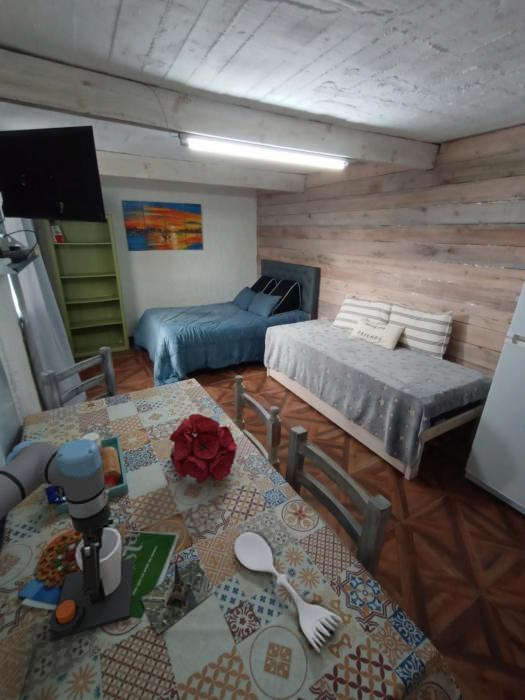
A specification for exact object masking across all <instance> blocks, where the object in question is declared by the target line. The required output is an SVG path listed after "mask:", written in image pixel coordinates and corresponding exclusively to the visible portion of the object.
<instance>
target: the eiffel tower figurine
mask: <svg viewBox="0 0 525 700" xmlns="http://www.w3.org/2000/svg"><path fill="white" fill-rule="evenodd" d="M173 564H174V574H173V575H170V577H168V578H167V579H165V580H164V581H162V582H161V583H159V584H158V585H157V586H155V587H154V588H152V589H151V590H150V591H149V592H146V594H144V595H143V596H142V597H140V601H141V603H142V605H143V607H144V609H145V611H146V613H147V615H148V618H149V620H150V621H151V623H152V626H153V627H154V629H155V631H156V633H157V635H160V634H161V633H163V632H164V631H166V630H167V629H169V627H171V626H172V625H174V624H175V623H176V622H177V621H179V620H180V619H181V618H182V617H183V616H184V615H186V614H187V613H189V612H190V611H191V610H192V609H193V608H194V607H196V606H197V605H199V604H200V603H202V602H203V601H204V600H205V599H207V598H209V596H212V594H214V593H215V592H217V589H216V588H215V585H214V584H212V582H211V580H210V579H209V577H208V576H207V575H206V573H205V572H204V570H203V569H202V568H201V566H200V565H199V563H198V562H197V560H196V559H194V560H192V561H191V562H189V563H188V564H186V565H185V566H184V567H182V568H181V569H180V570H179V566H178V560H177V558H175V560H174V563H173Z"/></svg>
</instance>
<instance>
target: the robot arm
mask: <svg viewBox="0 0 525 700" xmlns="http://www.w3.org/2000/svg"><path fill="white" fill-rule="evenodd" d="M102 459H103V458H102V455H101V454H100V450H99V446H98V444H97V443H96V442H95V441H94V440H92V439H89V438H83V439H73V440H71V441H68V442H67V443H65V444H63V445H62V446H60V445H56V444H53V443H49V442H45V441H34V440H25V441H23V442H19V444H16V445H15V446H14V447H13V448H12V451H11V452H10V453H8V454H7V457H6V459H5V465H4V466H3V467H1V468H0V520H2V519H3V518H4V517H5V516H7V514H9V513H10V512H11V511H12V510H13V509H15V508H16V507H17V506H18V505H19V504H21V503H22V502H23V501H24V500H25V499H27V498H29V496H31V495H32V494H33V493H34V492H35V491H37V490H38V489H39V488H40V487H41V486H42V485H44V484H46V485H52V486H56V487H57V486H58V487H61V488H63V492H64V497H65V500H66V505H67V509H68V513H69V516H70V520H71V524H72V528H73V529H74V530H75V531H77V532H79V533H81V534H82V539H83V540H84V547H81V550H80V552H81V556H82V567H83V588H82V590H84V596H86V595H90V599H91V603H92V605H94V604H97V603H101V602H105V601H106V596H105V591H104V587H103V582H102V578H101V579H100V549H101V548H102V535H103V528H108V527H110V528H112V527H111V525H113V524H114V519H113V518H111V516H112V514H111V505H110V502H109V501H110V500H109V499H108V497H109V496H108V495H109V494H110V489H109V488H108V489H107V487H106V480H105V476H104V475H105V474H104V471H103V470H104V469H103V460H102ZM110 518H111V519H110ZM98 542H99V545H98V546H95V544H96V543H98ZM92 544H93V545H92Z"/></svg>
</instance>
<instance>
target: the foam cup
mask: <svg viewBox="0 0 525 700" xmlns="http://www.w3.org/2000/svg"><path fill="white" fill-rule="evenodd" d="M110 527H111V526H110ZM110 527H108V528H103V535H102V548H101V549H100V579H101V578H102V582H103V587H104V591H105V596H106V595H108V594H110V593H112V592H113V591H114V590H115V589H116V588H117V587H118V585H119V583H120V577H121V561H122V553H121V552H122V547H123V546H122V543H123V542H122V536H121V534H120V532H119V531H118V529H115V528H112V527H111V528H110ZM92 545H93V544H92ZM98 545H99V542H98V543H96V544H95V546H98ZM81 547H84V540H83V538H81V540H80V542H79V543H78V545H77V546H76V550H75V560H76V564H77V565H78V567H79V569H80V571H83V567H82V556H81V552H80V550H81Z"/></svg>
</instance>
